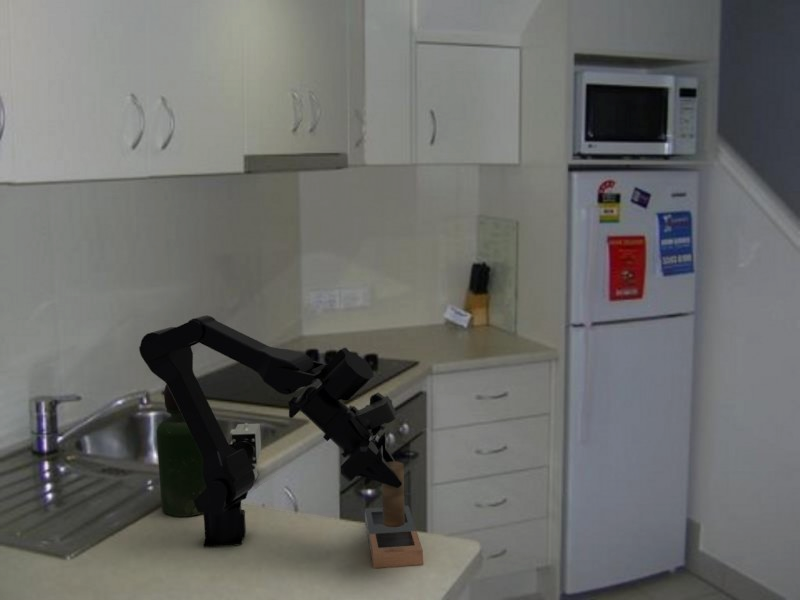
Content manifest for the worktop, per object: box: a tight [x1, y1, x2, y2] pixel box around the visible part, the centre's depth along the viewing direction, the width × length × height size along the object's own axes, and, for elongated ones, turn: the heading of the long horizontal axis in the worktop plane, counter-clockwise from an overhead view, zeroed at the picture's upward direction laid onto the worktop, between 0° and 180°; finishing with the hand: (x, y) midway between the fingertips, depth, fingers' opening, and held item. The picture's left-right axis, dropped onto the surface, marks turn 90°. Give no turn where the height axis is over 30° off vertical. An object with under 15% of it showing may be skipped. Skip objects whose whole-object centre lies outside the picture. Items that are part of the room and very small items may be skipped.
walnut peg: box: [381, 460, 405, 527], centre depth 151 cm, size 4×4×10 cm
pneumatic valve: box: [229, 422, 262, 482], centre depth 191 cm, size 6×12×12 cm, turn 2°
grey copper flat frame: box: [364, 505, 424, 569], centre depth 157 cm, size 8×20×2 cm, turn 6°
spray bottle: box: [156, 383, 206, 517], centre depth 174 cm, size 10×10×25 cm
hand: (401, 481), depth 150 cm, fingers closed on walnut peg, 4 cm apart
